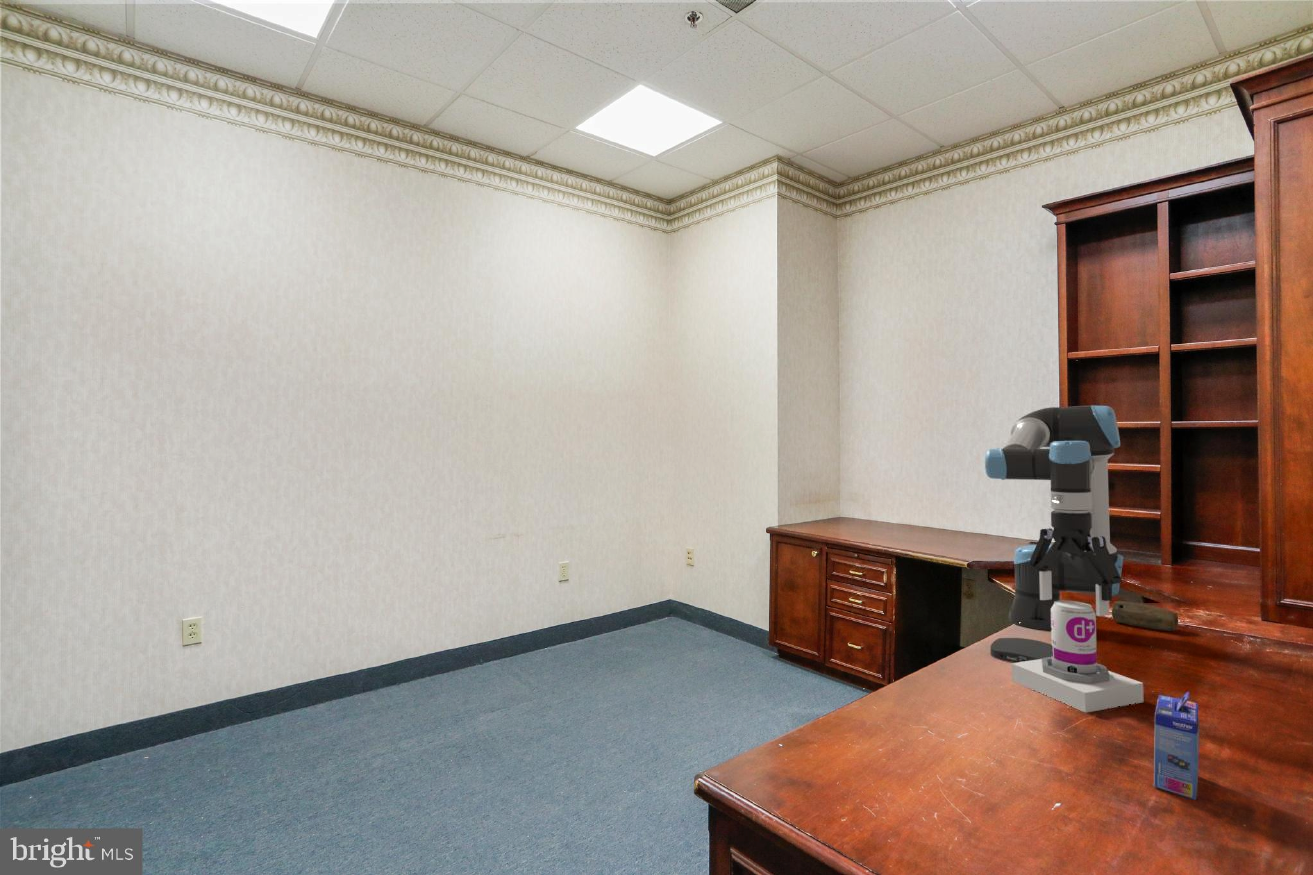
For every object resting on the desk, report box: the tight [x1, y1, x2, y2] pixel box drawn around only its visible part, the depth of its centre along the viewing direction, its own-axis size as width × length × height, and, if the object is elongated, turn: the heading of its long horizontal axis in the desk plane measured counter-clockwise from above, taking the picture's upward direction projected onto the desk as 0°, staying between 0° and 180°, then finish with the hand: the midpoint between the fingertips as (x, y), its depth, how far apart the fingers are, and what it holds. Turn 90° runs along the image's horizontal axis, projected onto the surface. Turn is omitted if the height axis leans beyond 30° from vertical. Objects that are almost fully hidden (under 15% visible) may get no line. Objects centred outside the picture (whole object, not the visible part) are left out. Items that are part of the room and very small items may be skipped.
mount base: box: [1011, 657, 1145, 714], centre depth 138 cm, size 18×16×6 cm
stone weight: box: [1111, 600, 1179, 632], centre depth 183 cm, size 15×7×7 cm, turn 46°
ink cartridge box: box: [1153, 691, 1200, 801], centre depth 102 cm, size 10×6×14 cm, turn 139°
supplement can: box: [1050, 599, 1098, 675], centre depth 139 cm, size 8×8×15 cm
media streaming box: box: [990, 637, 1052, 663], centre depth 161 cm, size 15×15×3 cm
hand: (1073, 607), depth 139 cm, fingers open, 13 cm apart
